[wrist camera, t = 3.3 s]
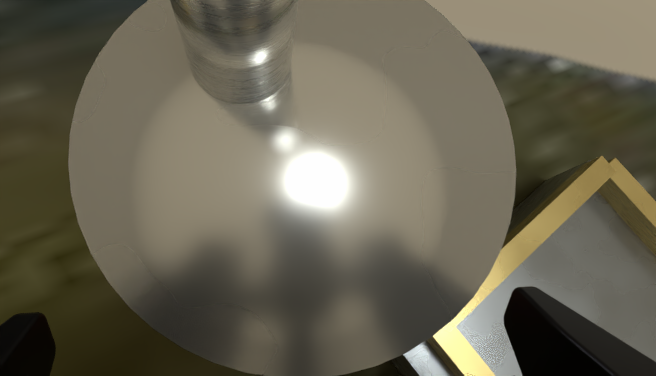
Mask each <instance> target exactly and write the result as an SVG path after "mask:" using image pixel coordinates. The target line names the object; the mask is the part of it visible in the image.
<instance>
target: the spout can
mask: <svg viewBox="0 0 656 376" xmlns="http://www.w3.org/2000/svg"><path fill="white" fill-rule="evenodd" d="M68 166H69V177H70V187H71V195H72V199H73V203H74V207H75V211H76V215H77V219H78V223H79V226H80V228H81V231H82V233H83V236H84V238H85V240H86V243H87V245H88V248H89V250H90V252H91V254H92V256H93V258H94V259H95V261H96V263H97V264H98V266H99V268H100V269H101V271H102V273H103V274H104V276H105V277H106V279H107V281H108V282H109V283H110V285H111V286H112V287H113V288H114V289H115V291H116V292H117V293H118V294H119V295H120V297H121V298H122V299H123V300H124V301H125V303H126V304H127V305H128V306H129V307H130V308H131V309H132V310H133V311H134V312H135V313H137V314H138V315H139V316H140V317H141V318H142V319H143V320H144V321H145V322H147V323H148V324H149V325H150V326H151V327H152V328H153V329H154V330H156V331H158V332H159V333H161V334H162V335H164V336H165V337H167V338H168V339H170V340H171V341H173V342H174V343H176V344H177V345H179V346H180V347H182V348H183V349H186V350H188V351H190V352H192V353H194V354H196V355H198V356H200V357H202V358H205V359H207V360H209V361H211V362H213V363H216V364H219V365H223V366H226V367H229V368H232V369H236V370H239V371H242V372H245V373H251V374H258V375H264V376H337V375H345V374H348V373H352V372H356V371H360V370H363V369H367V368H371V367H374V366H377V365H380V364H382V363H384V362H387V361H389V360H391V359H393V358H396V357H398V356H400V355H403V354H405V353H407V352H408V351H410V350H412V349H413V348H415V347H416V346H418V345H420V344H421V343H423V342H425V341H426V340H428V339H430V338H431V337H432V336H434V335H435V334H436V333H437V332H438V331H440V330H441V329H442V328H443V327H444V326H446V325H447V324H448V323H449V322H450V321H452V320H453V319H454V318H455V317H456V316H457V315H458V314H459V313H460V311H461V310H462V309H463V308H464V307H465V306H466V305H467V304H468V303H469V302H470V300H471V299H472V298H473V297H474V296H475V294H476V293H477V291H478V290H479V288H480V287H481V285H482V284H483V282H484V281H485V279H486V278H487V277H488V275H489V274H490V272H491V269H492V267H493V265H494V263H495V261H496V259H497V257H498V255H499V253H500V251H501V249H502V246H503V243H504V240H505V237H506V234H507V231H508V228H509V225H510V221H511V216H512V210H513V205H514V199H515V185H516V162H515V150H514V142H513V137H512V133H511V128H510V123H509V119H508V116H507V113H506V110H505V107H504V104H503V101H502V99H501V96H500V94H499V92H498V89H497V87H496V85H495V83H494V81H493V79H492V77H491V75H490V73H489V71H488V70H487V68H486V67H485V65H484V64H483V62H482V60H481V59H480V57H479V56H478V54H477V53H476V51H475V50H474V49H473V47H472V46H471V45H470V44H469V42H468V41H467V40H466V39H465V38H464V36H463V35H462V34H461V33H460V31H458V30H457V29H456V28H455V27H454V26H453V25H452V24H451V23H450V22H449V21H448V20H447V19H446V18H445V17H444V16H443V15H442V14H441V13H440V12H438V11H437V10H436V9H435V8H433V7H432V6H431V5H430V4H428V3H427V2H426V1H425V0H148V1H147V2H146V3H145V4H143V5H142V6H141V7H140V8H138V9H137V10H136V11H135V12H133V14H132V15H131V16H130V17H129V18H128V19H127V20H126V21H125V22H124V23H123V24H122V25H121V26H120V27H119V28H118V29H117V30H116V31H115V32H114V34H113V35H112V37H111V38H110V39H109V41H108V42H107V43H106V45H105V46H104V48H103V49H102V50H101V52H100V53H99V54H98V56H97V58H96V60H95V62H94V64H93V66H92V68H91V69H90V71H89V73H88V75H87V77H86V79H85V81H84V84H83V87H82V90H81V93H80V95H79V98H78V101H77V104H76V107H75V112H74V116H73V121H72V126H71V131H70V141H69V160H68Z"/></svg>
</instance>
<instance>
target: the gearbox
mask: <svg viewBox="0 0 656 376" xmlns="http://www.w3.org/2000/svg"><path fill="white" fill-rule="evenodd" d="M528 286H533V287H537V288H539V289H540V290H542V291H543V292H545V293H547V294H548V295H550V296H551V297H553V298H555V299H556V300H558V301H559V302H561V303H563V304H564V305H566V306H567V307H569V308H571V309H572V310H574V311H575V312H577V313H579V314H580V315H582V316H583V317H585V318H587V319H588V320H590V321H591V322H593V323H595V324H596V325H598V326H599V327H601V328H603V329H604V330H606V331H607V332H609V333H611V334H612V335H614V336H615V337H617V338H619V339H620V340H622V341H623V342H625V343H627V344H628V345H630V346H631V347H633V348H635V349H636V350H638V351H639V352H641V353H643V354H644V355H646V356H647V357H649V358H651V359H652V360H654V361H655V362H656V201H655V200H654V199H653V198H652V197H651V196H650V195H649V194H648V193H647V192H646V190H645V189H644V188H643V187H642V186H641V185H640V184H639V183H638V182H637V181H636V180H635V179H634V177H633V176H632V175H631V174H630V173H629V172H628V171H627V170H626V169H625V168H624V167H623V165H622V164H621V163H620V162H619V161H618V160H617V159H616V158H614V159H611V160H609V161H606V160H605V159H604V157H603V156H600V157H598V158H596V159H593V160H589V161H587V162H584V163H582V164H580V165H578V166H576V167H574V168H571V169H569V170H567V171H565V172H563V173H561V174H559V175H556V176H554V177H552V178H550V179H548V180H546V181H544V182H543V183H542V184H541V185H540V186H539V187H538V188H537V189H536V190H535V191H533V192H532V193H531V194H530V195H529V196H528V197H527V198H526V199H525V200H524V201H522V202H521V203H520V204H519V205H518V206H517V207H516V208H515V209H514V210H513V211H512V216H511V221H510V225H509V228H508V231H507V234H506V237H505V240H504V243H503V246H502V249H501V251H500V253H499V255H498V257H497V259H496V261H495V263H494V265H493V267H492V269H491V272H490V274H489V275H488V277H487V278H486V279H485V281H484V282H483V284H482V285H481V287H480V288H479V290H478V291H477V293H476V294H475V296H474V297H473V298H472V299H471V300H470V302H469V303H468V304H467V305H466V306H465V307H464V308H463V309H462V310H461V311H460V313H459V314H458V315H457V316H456V317H455V318H454V319H453V320H452V321H450V322H449V323H448V324H447V325H446V326H444V327H443V328H442V329H441V330H440V331H438V332H437V333H436V334H435V335H434V336H432V337H431V338H430V339H428V340H426V341H425V342H423V343H421V344H420V345H418V346H416V347H415V348H413V349H412V350H410V351H408V352H407V353H405V354H403V355H400V356H398V357H396V358H393V359H391V361H392V362H393V364H394V365H395V366H396V368H397V369H398V370H399V371H400V373H401V374H402V375H403V376H522V373H521V370H520V367H519V365H518V362H517V359H516V357H515V354H514V351H513V349H512V346H511V343H510V340H509V338H508V335H507V332H506V330H505V326H504V313H505V310H506V308H507V305H508V302H509V299H510V296H511V294H512V291H513V290H514V289H515V288H517V287H528Z"/></svg>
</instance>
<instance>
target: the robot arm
mask: <svg viewBox="0 0 656 376" xmlns="http://www.w3.org/2000/svg"><path fill="white" fill-rule="evenodd" d="M504 326H505V330H506V332H507V335H508V338H509V340H510V343H511V346H512V349H513V351H514V354H515V357H516V359H517V362H518V365H519V367H520V370H521V373H522V376H656V362H655V361H654V360H652V359H651V358H649V357H647V356H646V355H644V354H643V353H641V352H639V351H638V350H636V349H635V348H633V347H631V346H630V345H628V344H627V343H625V342H623V341H622V340H620V339H619V338H617V337H615V336H614V335H612V334H611V333H609V332H607V331H606V330H604V329H603V328H601V327H599V326H598V325H596V324H595V323H593V322H591V321H590V320H588V319H587V318H585V317H583V316H582V315H580V314H579V313H577V312H575V311H574V310H572V309H571V308H569V307H567V306H566V305H564V304H563V303H561V302H559V301H558V300H556V299H555V298H553V297H551V296H550V295H548V294H547V293H545V292H543V291H542V290H540V289H539V288H537V287H533V286H528V287H517V288H515V289H514V290H513V291H512V294H511V296H510V299H509V302H508V305H507V308H506V310H505V313H504ZM55 349H56V348H55V342H54V339H53V336H52V333H51V331H50V328H49V325H48V322H47V319H46V317H45V315H44V314H42V313H39V312H36V313H20V314H16V315H14V316H12V317H11V318H9V319H8V320H7V321H5V322H4V323H3V324H2V325H0V376H50V372H51V369H52V365H53V361H54V358H55Z"/></svg>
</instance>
